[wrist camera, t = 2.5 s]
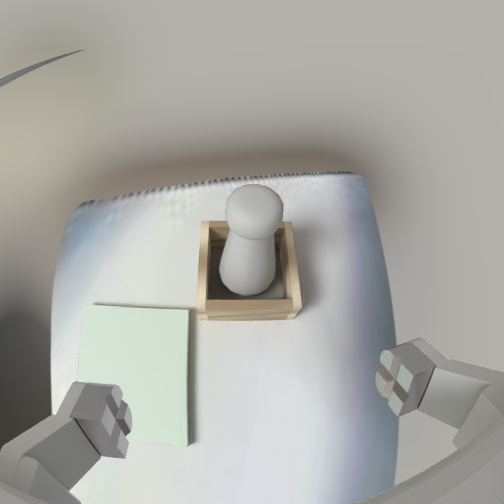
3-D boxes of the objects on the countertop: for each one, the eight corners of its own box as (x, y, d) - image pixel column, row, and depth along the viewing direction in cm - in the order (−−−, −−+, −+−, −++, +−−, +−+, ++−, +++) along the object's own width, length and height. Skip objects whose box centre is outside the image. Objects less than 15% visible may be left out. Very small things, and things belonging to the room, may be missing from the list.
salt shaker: (279, 294, 30) (310, 223, 19) (229, 309, 29) (228, 243, 17) (261, 249, 33) (277, 166, 21) (213, 262, 31) (206, 179, 20)
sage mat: (188, 445, 21) (187, 447, 20) (80, 427, 20) (75, 427, 19) (189, 312, 28) (188, 309, 27) (89, 307, 27) (85, 304, 26)
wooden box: (293, 319, 29) (302, 306, 25) (200, 320, 28) (196, 307, 24) (285, 241, 33) (291, 221, 30) (204, 241, 33) (201, 220, 29)
